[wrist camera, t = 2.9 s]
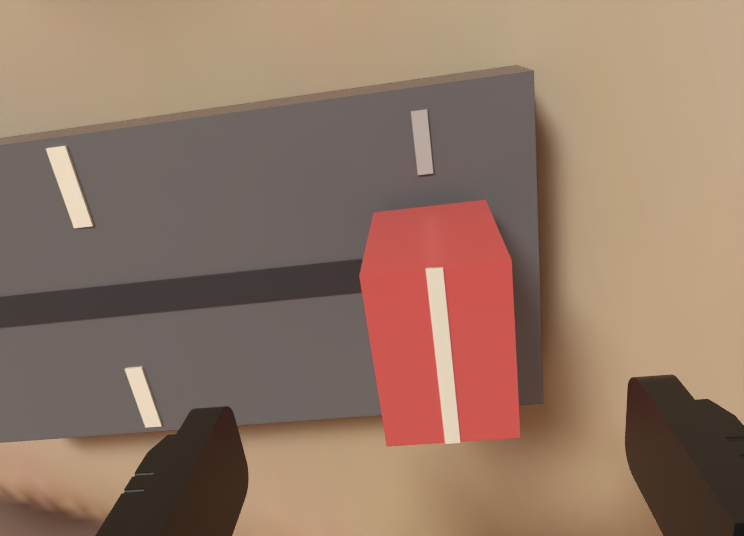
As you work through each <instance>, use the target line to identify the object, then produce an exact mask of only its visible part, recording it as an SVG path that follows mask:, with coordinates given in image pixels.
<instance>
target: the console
mask: <svg viewBox="0 0 744 536" xmlns="http://www.w3.org/2000/svg"><path fill="white" fill-rule="evenodd" d="M478 200H486V202H487V204H488V206H489V209H490V211H491V213H492V216H493V218H494V220H495V223H496V225H497V227H498V230H499V232H500V234H501V236H502V239H503V241H504V243H505V246H506V248H507V250H508V253H509V255H510V257H511V260H512V277H513V297H514V317H515V338H516V358H517V378H518V399H519V405H530V404H543V373H542V339H541V305H540V271H539V236H538V202H537V168H536V134H535V99H534V70H530V69H527V68H524V67H521V66H517V65H515V66H508V67H501V68H494V69H487V70H479V71H472V72H465V73H458V74H451V75H444V76H437V77H430V78H423V79H416V80H409V81H402V82H395V83H388V84H381V85H374V86H366V87H359V88H352V89H345V90H338V91H331V92H324V93H317V94H310V95H303V96H296V97H289V98H282V99H275V100H268V101H260V102H253V103H246V104H239V105H232V106H225V107H218V108H211V109H204V110H197V111H190V112H183V113H176V114H169V115H162V116H155V117H147V118H140V119H133V120H126V121H119V122H112V123H105V124H98V125H91V126H84V127H77V128H70V129H63V130H56V131H49V132H42V133H34V134H27V135H20V136H13V137H6V138H0V443H2V442H16V441H30V440H44V439H58V438H72V437H86V436H100V435H113V434H127V433H141V432H155V431H169V430H179V429H180V427H181V426H182V424H183V422H184V421H185V419H186V417H187V415H188V414H189V412H190V411H191V410H192V409H196V408H209V407H223V406H229V407H230V408H231V409H232V411H233V413H234V416H235V420H236V423H237V426H238V425H252V424H266V423H280V422H294V421H308V420H322V419H335V418H349V417H363V416H377V415H382V414H381V407H380V401H379V395H378V389H377V383H376V376H375V370H374V364H373V358H372V352H371V346H370V339H369V333H368V327H367V321H366V315H365V308H364V302H363V296H362V290H361V284H360V277H359V274H360V270H361V265H362V261H363V257H364V252H365V248H366V243H367V239H368V234H369V230H370V225H371V221H372V217H373V213H374V212H382V211H391V210H400V209H408V208H417V207H426V206H435V205H443V204H452V203H461V202H469V201H478Z"/></svg>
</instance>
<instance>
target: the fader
mask: <svg viewBox="0 0 744 536" xmlns="http://www.w3.org/2000/svg"><path fill="white" fill-rule="evenodd" d="M359 277H360V284H361V290H362V296H363V302H364V308H365V315H366V321H367V327H368V333H369V339H370V346H371V352H372V358H373V364H374V370H375V376H376V383H377V389H378V395H379V401H380V407H381V414H382V420H383V426H384V432H385V438H386V445H387V446H401V445H416V444H432V443H445V444H451V443H460V442H462V441H478V440H493V439H508V438H520V419H519V399H518V378H517V358H516V338H515V317H514V297H513V277H512V260H511V257H510V255H509V253H508V250H507V248H506V246H505V243H504V241H503V239H502V236H501V234H500V232H499V230H498V227H497V225H496V223H495V220H494V218H493V216H492V213H491V211H490V209H489V206H488V204H487V202H486V200H478V201H469V202H461V203H452V204H443V205H435V206H426V207H417V208H408V209H400V210H391V211H382V212H374V213H373V217H372V221H371V225H370V230H369V234H368V239H367V243H366V248H365V252H364V257H363V261H362V265H361V270H360V274H359Z"/></svg>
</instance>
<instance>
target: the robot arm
mask: <svg viewBox="0 0 744 536" xmlns="http://www.w3.org/2000/svg"><path fill="white" fill-rule="evenodd" d="M625 449H626V456H627V461H628V464H629V468H630V471H631V473H632V475H633V477H634V479H635V481H636V483H637V485H638V487H639V489H640V491H641V493H642V495H643V497H644V499H645V501H646V503H647V504H648V506H649V508H650V510H651V512H652V514H653V516H654V518H655V520H656V522H657V524H658V526H659V528H660V530H661V531H662V533H663V535H664V536H744V425H743V424H742V423H741V422H740V421H739V420H738V419H737V417H736V416H735V415H733V414H732V413H730V412H728V411H727V410H725V409H723V408H722V407H720V406H719V405H717V404H715V403H714V402H712V401H710V400H709V399H701V400H694V398H693V397H692V396H691V395H690V393H689V392H688V391H687V390H686V388H685V387H684V386H683V385H682V383H681V382H680V381H679V380H678V378H677V377H676V376H674V375H660V376H646V377H633V378H631V379H630V380H629V383H628V392H627V412H626V432H625ZM247 489H248V466H247V461H246V458H245V454H244V450H243V446H242V442H241V439H240V435H239V431H238V427H237V423H236V420H235V416H234V413H233V411H232V409H231V408H230V407H229V406H223V407H209V408H196V409H192V410H191V411H190V412H189V414H188V415H187V417H186V419H185V421H184V422H183V424H182V426H181V427H180V429H179V431H178V433H177V434H175V435H167V436H166V437H165V438H164V439H163V440H161V441H160V442H159V443H158V444H157V445H156V446H155V447H153V448H152V449H151V450H150V451H149V452H148V453H147V454H146V456H145V457H144V459H143V460H142V462H141V464H140V465H139V467H138V468H137V470H136V472H135V477H132V478H131V480H130V481H129V483H128V484H127V486H126V488H125V489H124V490H125V492H124V494H121V496H120V497H119V499H118V500H117V502H116V504H115V505H114V507H113V508H112V510H111V511H110V513H109V515H108V516H107V518H106V519H105V521H104V523H103V524H102V526H101V527H100V529H99V531H98V532H97V534H96V536H232V534H233V531H234V529H235V526H236V523H237V520H238V517H239V514H240V512H241V509H242V506H243V503H244V500H245V497H246V494H247Z"/></svg>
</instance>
